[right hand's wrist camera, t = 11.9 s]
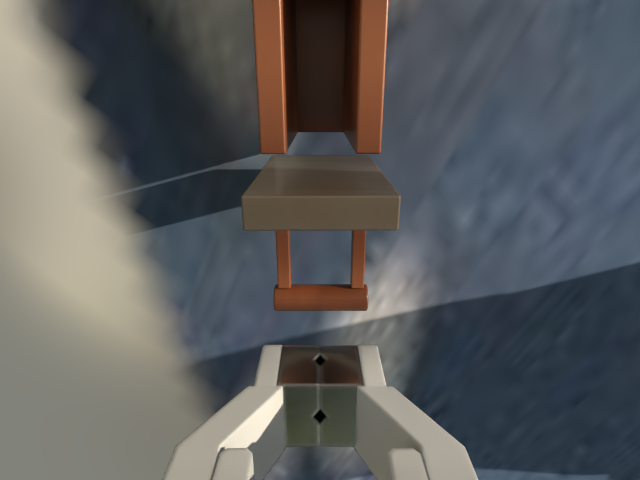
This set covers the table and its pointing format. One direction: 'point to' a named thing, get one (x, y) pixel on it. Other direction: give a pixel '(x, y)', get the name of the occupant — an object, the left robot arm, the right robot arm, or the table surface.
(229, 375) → the table surface
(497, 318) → the table surface
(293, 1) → the drawer
